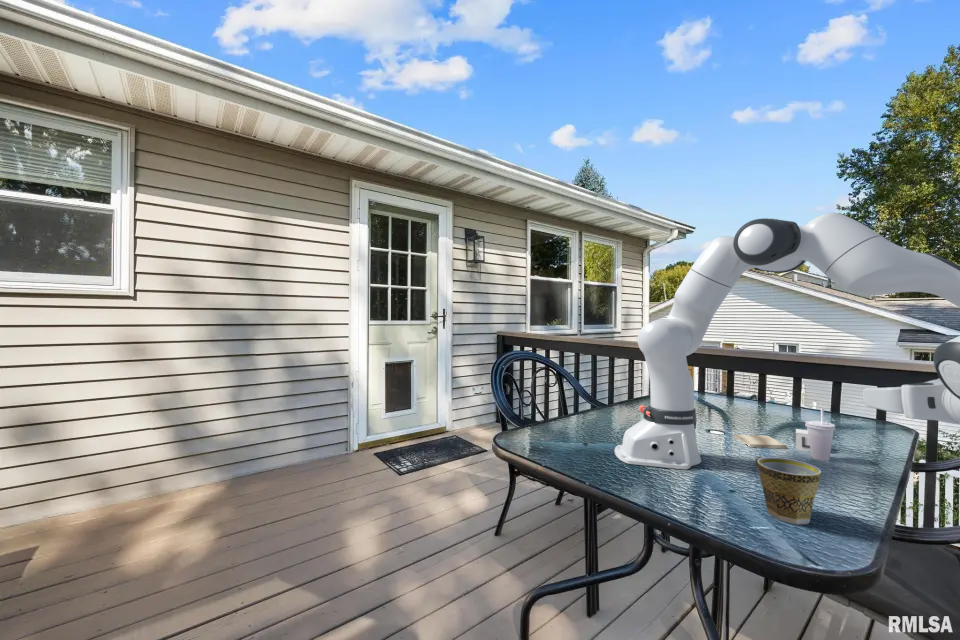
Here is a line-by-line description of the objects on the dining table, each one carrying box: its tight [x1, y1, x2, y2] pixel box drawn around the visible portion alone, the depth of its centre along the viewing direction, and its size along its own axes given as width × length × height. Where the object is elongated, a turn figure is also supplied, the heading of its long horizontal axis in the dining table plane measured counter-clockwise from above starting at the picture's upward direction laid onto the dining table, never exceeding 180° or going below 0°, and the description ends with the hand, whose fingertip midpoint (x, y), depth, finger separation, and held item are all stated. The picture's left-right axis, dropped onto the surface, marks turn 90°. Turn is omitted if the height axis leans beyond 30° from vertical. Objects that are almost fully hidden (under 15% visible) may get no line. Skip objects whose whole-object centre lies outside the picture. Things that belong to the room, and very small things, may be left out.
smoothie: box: [804, 407, 836, 462], centre depth 110 cm, size 6×6×14 cm
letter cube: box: [795, 428, 811, 452], centre depth 119 cm, size 5×5×5 cm
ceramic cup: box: [755, 456, 822, 525], centre depth 80 cm, size 13×10×10 cm
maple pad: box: [733, 434, 788, 450], centre depth 125 cm, size 10×10×1 cm
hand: (890, 392), depth 89 cm, fingers open, 8 cm apart
